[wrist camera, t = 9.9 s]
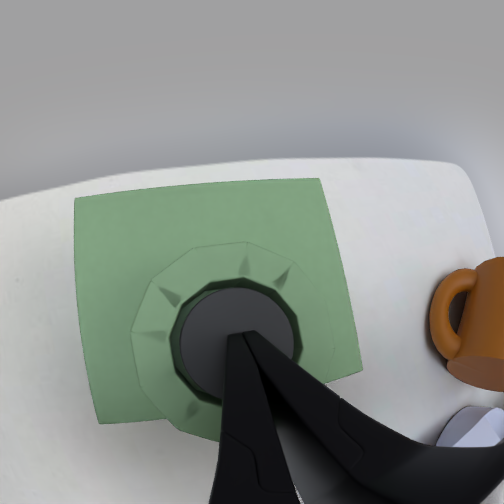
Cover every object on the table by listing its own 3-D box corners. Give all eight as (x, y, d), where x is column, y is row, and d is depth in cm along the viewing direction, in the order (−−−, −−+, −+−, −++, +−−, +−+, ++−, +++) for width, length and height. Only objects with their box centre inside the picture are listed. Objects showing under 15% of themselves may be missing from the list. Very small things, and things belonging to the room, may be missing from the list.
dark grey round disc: (282, 379, 11) (303, 386, 9) (189, 398, 10) (192, 411, 8) (265, 289, 12) (283, 279, 10) (171, 302, 11) (170, 295, 9)
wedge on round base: (398, 527, 16) (483, 455, 20) (445, 553, 9) (528, 462, 13) (391, 462, 18) (481, 390, 21) (451, 485, 11) (534, 390, 15)
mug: (409, 366, 25) (437, 289, 28) (510, 399, 18) (528, 317, 21) (420, 332, 18) (448, 235, 22) (553, 374, 11) (562, 270, 14)
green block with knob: (303, 372, 18) (394, 391, 10) (128, 404, 15) (91, 460, 7) (274, 227, 20) (339, 156, 12) (106, 245, 17) (60, 174, 9)
